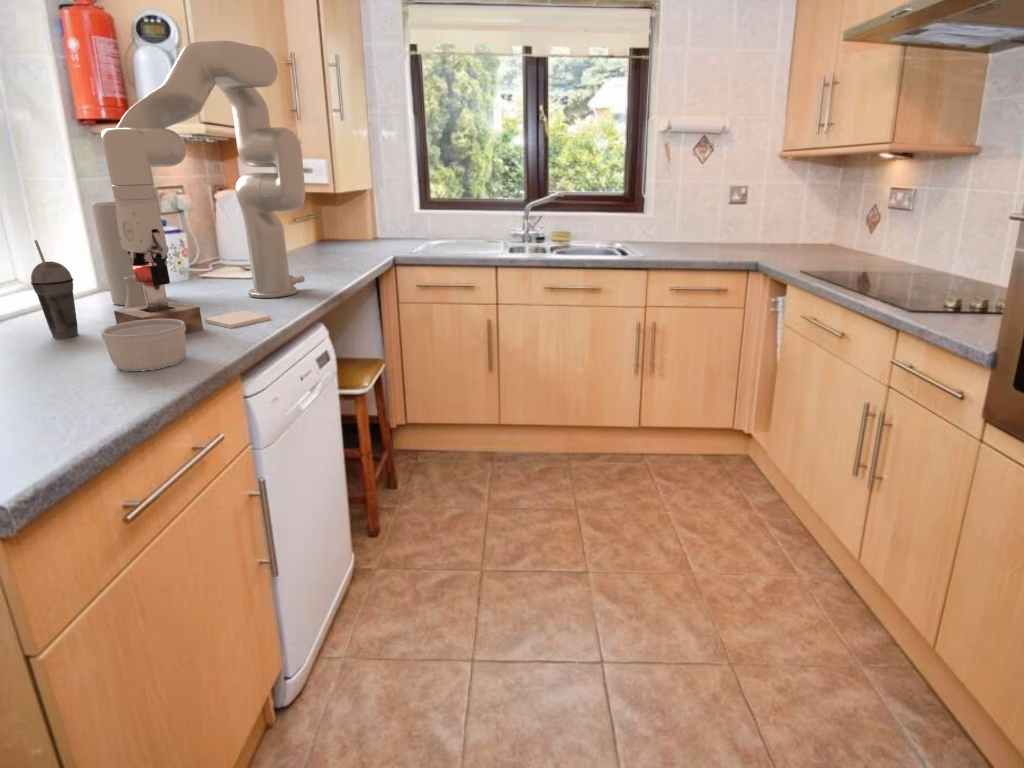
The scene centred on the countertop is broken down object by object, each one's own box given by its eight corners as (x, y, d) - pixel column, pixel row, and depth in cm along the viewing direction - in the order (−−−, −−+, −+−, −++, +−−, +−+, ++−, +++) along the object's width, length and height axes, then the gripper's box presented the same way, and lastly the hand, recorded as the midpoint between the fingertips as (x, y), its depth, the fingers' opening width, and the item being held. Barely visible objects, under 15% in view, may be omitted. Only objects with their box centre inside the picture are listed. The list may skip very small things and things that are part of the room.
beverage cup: (93, 333, 137) (71, 238, 131) (56, 342, 131) (31, 242, 125) (74, 329, 141) (52, 236, 134) (38, 337, 135) (12, 240, 128)
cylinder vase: (108, 308, 162) (86, 205, 154) (116, 298, 173) (96, 202, 164) (164, 303, 166) (145, 203, 158) (168, 294, 177) (151, 200, 169)
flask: (149, 315, 154) (141, 273, 151) (163, 319, 150) (155, 276, 146) (117, 321, 149) (107, 277, 145) (130, 325, 144) (120, 281, 141)
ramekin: (155, 350, 125) (148, 315, 123) (207, 357, 121) (201, 320, 119) (92, 370, 114) (83, 332, 111) (146, 378, 109) (138, 338, 107)
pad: (244, 313, 154) (243, 310, 154) (270, 319, 149) (269, 315, 148) (205, 322, 146) (204, 318, 146) (230, 328, 141) (230, 324, 141)
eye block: (173, 322, 147) (169, 300, 145) (203, 329, 140) (199, 307, 138) (118, 333, 137) (113, 310, 136) (147, 342, 131) (142, 318, 129)
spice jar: (138, 322, 138) (126, 266, 133) (167, 316, 142) (157, 261, 138) (153, 326, 134) (141, 268, 130) (183, 320, 139) (172, 264, 135)
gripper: (94, 194, 131) (114, 281, 137) (137, 196, 122) (156, 290, 128) (132, 192, 137) (149, 276, 143) (176, 194, 128) (192, 284, 134)
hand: (152, 282), depth 135 cm, fingers closed on spice jar, 6 cm apart
